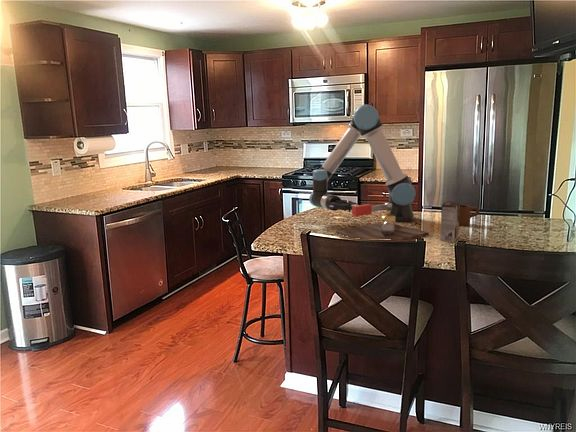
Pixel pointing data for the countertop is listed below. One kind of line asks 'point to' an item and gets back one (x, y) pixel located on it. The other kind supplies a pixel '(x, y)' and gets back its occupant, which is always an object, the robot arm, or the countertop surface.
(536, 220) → the countertop surface
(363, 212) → the valve lever
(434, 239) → the countertop surface
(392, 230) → the valve pipe
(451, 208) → the coffee box
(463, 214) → the mug
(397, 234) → the valve board
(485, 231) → the countertop surface
